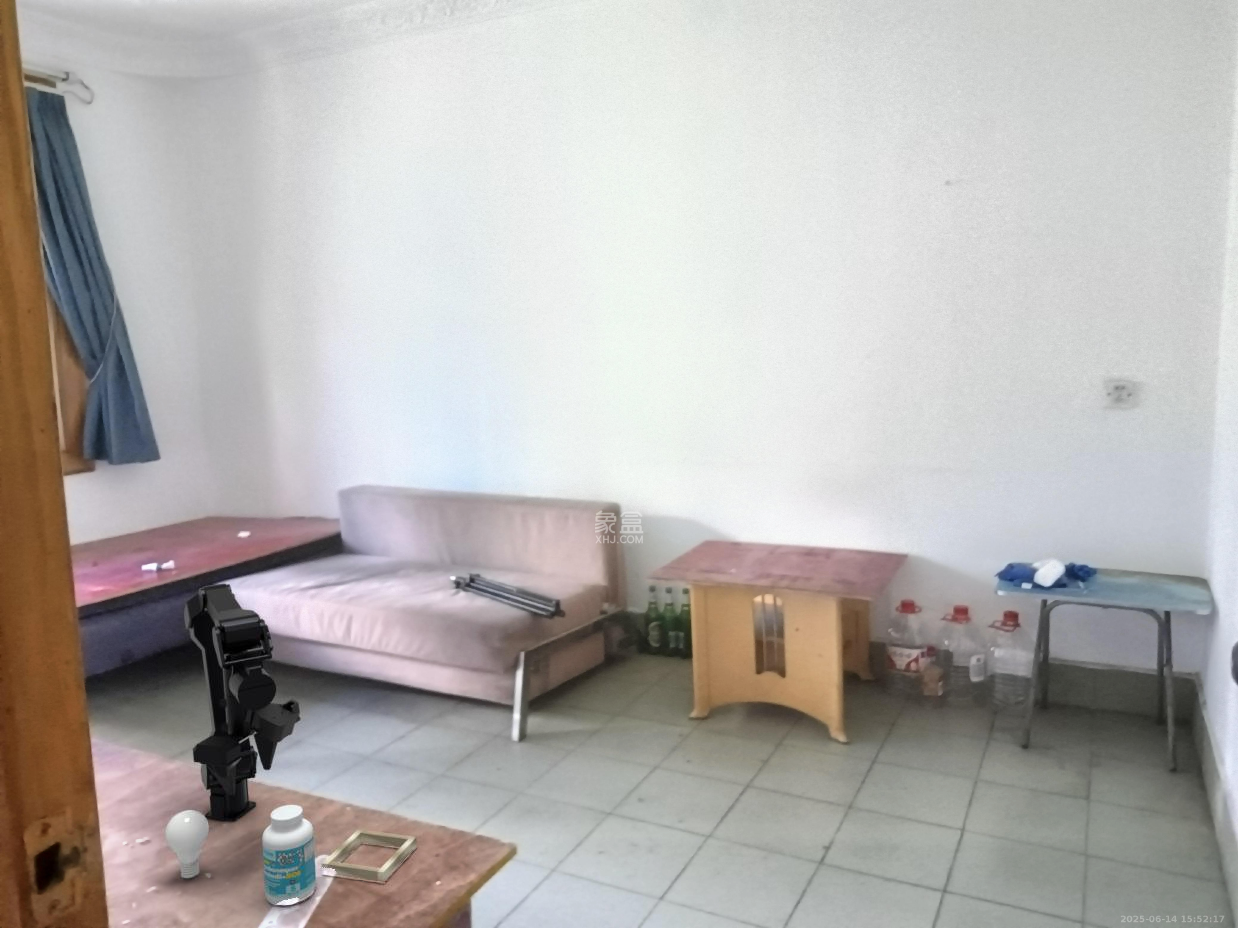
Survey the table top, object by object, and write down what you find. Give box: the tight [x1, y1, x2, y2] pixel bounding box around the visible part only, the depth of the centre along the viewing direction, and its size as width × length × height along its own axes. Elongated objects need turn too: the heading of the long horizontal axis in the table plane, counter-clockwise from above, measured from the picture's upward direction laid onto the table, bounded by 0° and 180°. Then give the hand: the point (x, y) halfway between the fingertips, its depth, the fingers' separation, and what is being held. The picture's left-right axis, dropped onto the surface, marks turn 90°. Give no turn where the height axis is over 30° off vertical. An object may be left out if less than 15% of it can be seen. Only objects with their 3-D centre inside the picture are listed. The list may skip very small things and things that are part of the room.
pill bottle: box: [261, 804, 317, 906], centre depth 142 cm, size 8×7×14 cm
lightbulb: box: [164, 809, 210, 879], centre depth 147 cm, size 6×6×11 cm
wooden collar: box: [321, 828, 418, 882], centre depth 152 cm, size 11×11×2 cm
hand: (249, 781), depth 152 cm, fingers open, 9 cm apart
